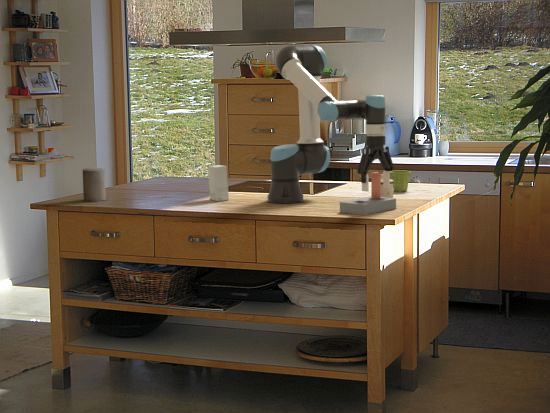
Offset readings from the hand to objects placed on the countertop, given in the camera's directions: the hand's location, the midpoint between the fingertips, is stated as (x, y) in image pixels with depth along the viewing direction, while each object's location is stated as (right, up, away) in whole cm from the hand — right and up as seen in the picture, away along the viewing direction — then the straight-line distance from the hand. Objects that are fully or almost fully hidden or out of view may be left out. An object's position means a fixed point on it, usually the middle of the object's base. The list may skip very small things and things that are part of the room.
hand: (376, 189), depth 371 cm
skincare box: (-64, -4, +36) cm, 73 cm away
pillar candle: (-118, -4, +43) cm, 126 cm away
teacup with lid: (+4, -5, +17) cm, 18 cm away
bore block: (-3, -8, -2) cm, 9 cm away
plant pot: (+17, 0, +53) cm, 55 cm away
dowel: (0, -7, +1) cm, 7 cm away
